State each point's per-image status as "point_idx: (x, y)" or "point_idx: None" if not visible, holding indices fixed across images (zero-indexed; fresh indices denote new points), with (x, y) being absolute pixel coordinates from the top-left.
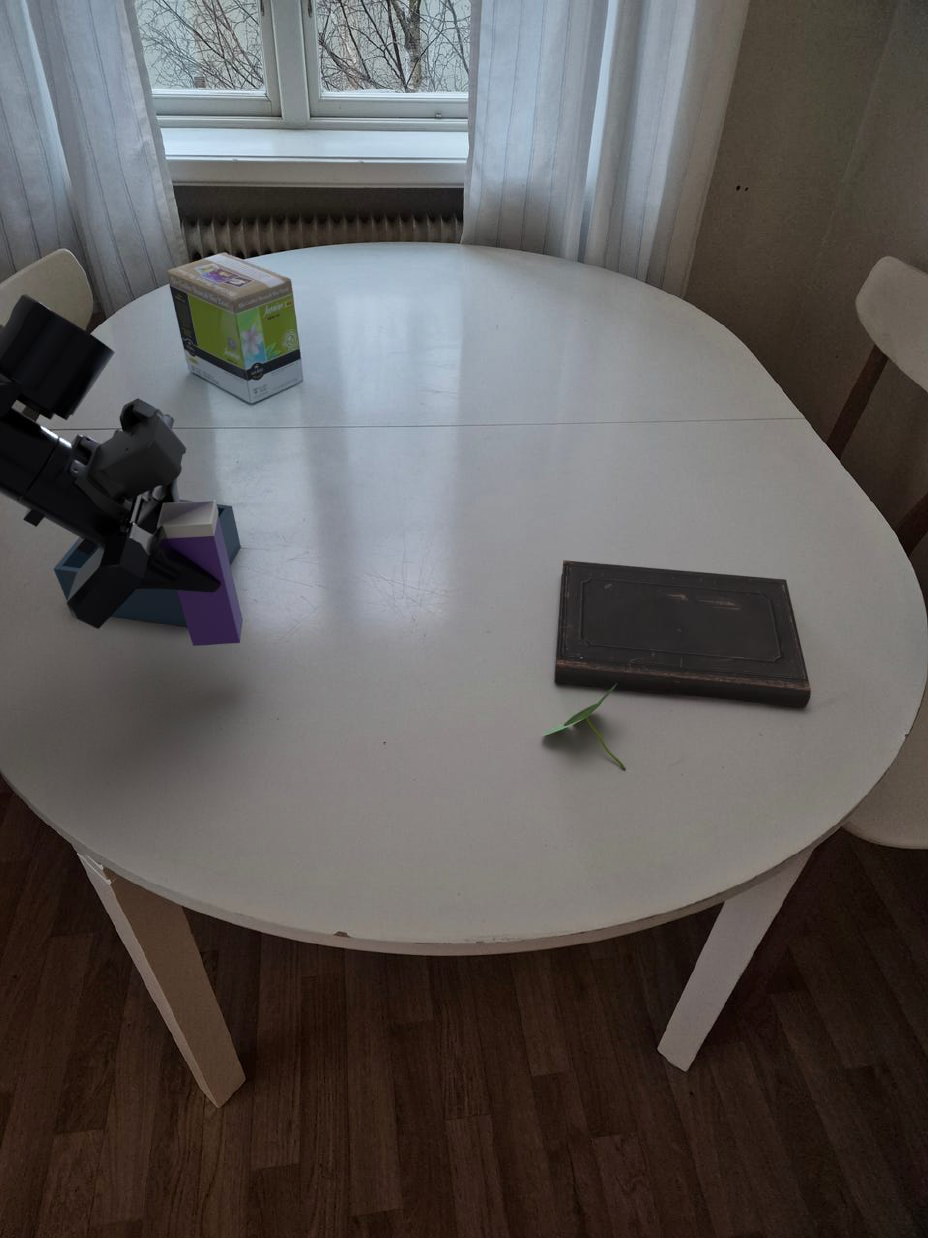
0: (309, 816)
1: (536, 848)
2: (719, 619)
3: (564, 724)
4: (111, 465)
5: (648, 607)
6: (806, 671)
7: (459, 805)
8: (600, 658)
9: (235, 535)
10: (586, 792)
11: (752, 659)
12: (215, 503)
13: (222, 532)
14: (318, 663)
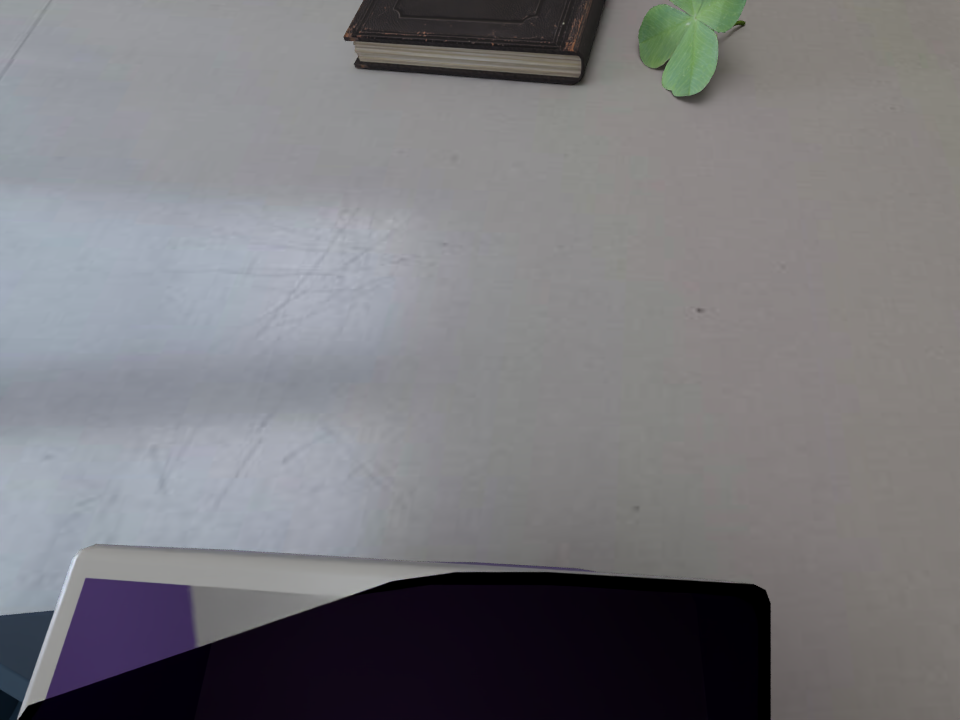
0: (894, 442)
1: (901, 118)
2: None
3: (735, 21)
4: None
5: None
6: None
7: (832, 206)
8: (566, 4)
9: (37, 618)
10: (787, 62)
11: None
12: (157, 547)
13: (25, 653)
14: (486, 426)
